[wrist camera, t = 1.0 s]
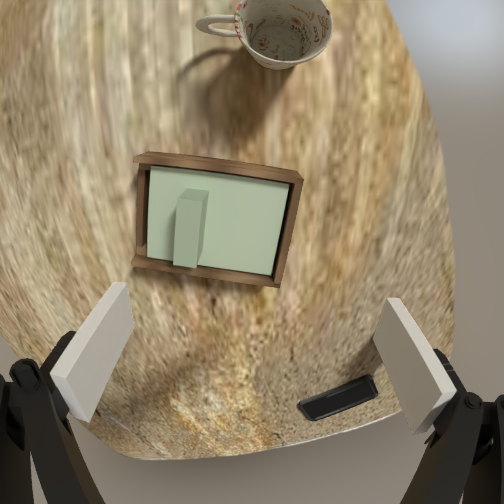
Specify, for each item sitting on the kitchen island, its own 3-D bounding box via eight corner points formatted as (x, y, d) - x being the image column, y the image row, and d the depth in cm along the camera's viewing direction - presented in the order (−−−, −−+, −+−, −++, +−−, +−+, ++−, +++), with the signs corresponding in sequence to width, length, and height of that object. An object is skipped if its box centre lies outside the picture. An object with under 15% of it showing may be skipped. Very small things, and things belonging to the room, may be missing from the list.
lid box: (143, 248, 39) (131, 265, 34) (148, 151, 34) (133, 156, 29) (276, 268, 40) (279, 288, 35) (297, 171, 35) (303, 179, 30)
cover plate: (149, 253, 36) (134, 275, 31) (153, 164, 31) (136, 173, 26) (270, 271, 37) (273, 295, 32) (288, 182, 32) (295, 194, 27)
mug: (308, 84, 30) (328, 71, 21) (198, 72, 30) (178, 55, 21) (315, 23, 27) (336, -8, 18) (208, 11, 26) (192, -23, 17)
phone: (379, 395, 51) (311, 422, 54) (377, 391, 52) (310, 418, 55) (371, 375, 48) (296, 405, 51) (369, 371, 49) (296, 400, 52)
